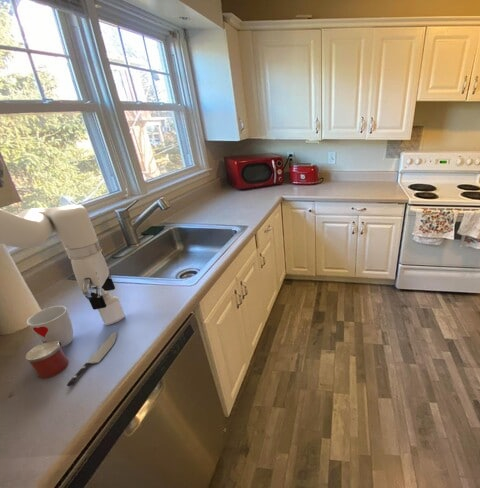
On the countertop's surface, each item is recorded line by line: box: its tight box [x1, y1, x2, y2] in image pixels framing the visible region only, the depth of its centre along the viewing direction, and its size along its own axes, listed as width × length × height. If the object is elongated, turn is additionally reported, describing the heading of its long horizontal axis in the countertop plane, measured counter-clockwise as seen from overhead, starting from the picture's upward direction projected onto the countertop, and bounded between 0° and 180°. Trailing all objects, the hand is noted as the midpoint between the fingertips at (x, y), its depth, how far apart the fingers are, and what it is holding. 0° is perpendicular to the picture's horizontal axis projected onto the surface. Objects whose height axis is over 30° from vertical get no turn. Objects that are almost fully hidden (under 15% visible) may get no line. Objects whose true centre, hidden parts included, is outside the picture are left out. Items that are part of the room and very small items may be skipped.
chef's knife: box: [66, 331, 117, 387], centre depth 76 cm, size 19×1×3 cm
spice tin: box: [25, 341, 69, 379], centre depth 72 cm, size 6×6×7 cm
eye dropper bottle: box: [96, 287, 126, 326], centre depth 87 cm, size 4×6×12 cm
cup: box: [26, 305, 74, 348], centre depth 79 cm, size 8×8×10 cm
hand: (105, 298), depth 86 cm, fingers open, 9 cm apart
